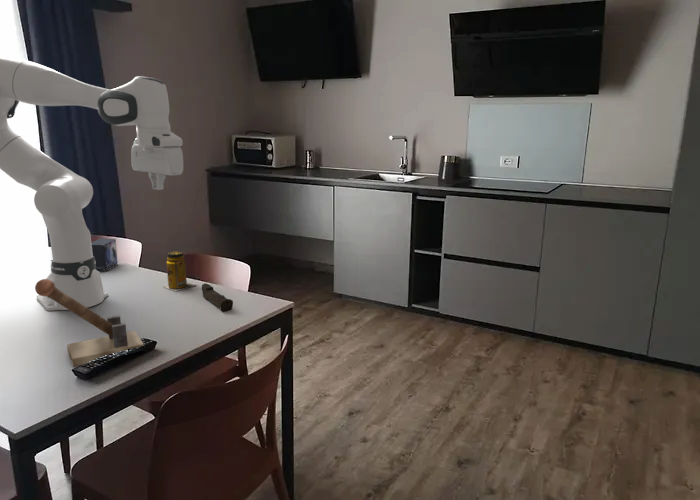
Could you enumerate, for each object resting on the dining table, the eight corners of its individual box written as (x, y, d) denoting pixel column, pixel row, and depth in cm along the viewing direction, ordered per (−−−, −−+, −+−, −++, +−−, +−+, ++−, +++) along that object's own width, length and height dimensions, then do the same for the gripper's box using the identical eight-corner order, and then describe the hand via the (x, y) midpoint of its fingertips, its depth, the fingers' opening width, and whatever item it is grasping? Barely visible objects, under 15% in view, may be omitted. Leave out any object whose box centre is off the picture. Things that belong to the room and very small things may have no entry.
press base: (135, 337, 146) (132, 311, 144) (144, 351, 138) (141, 323, 136) (67, 351, 138) (64, 323, 136) (73, 366, 130) (69, 337, 128)
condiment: (163, 287, 188) (160, 253, 185) (184, 281, 195) (182, 248, 192) (175, 291, 184) (172, 256, 181) (197, 285, 190) (194, 252, 187)
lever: (125, 327, 141) (42, 273, 128) (128, 332, 138) (44, 278, 125) (114, 340, 140) (30, 287, 127) (117, 345, 137) (31, 292, 124)
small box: (107, 272, 206) (104, 244, 203) (89, 271, 206) (86, 244, 203) (119, 264, 216) (116, 238, 213) (102, 264, 216) (99, 238, 213)
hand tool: (234, 311, 167) (233, 296, 166) (221, 313, 165) (220, 298, 164) (211, 294, 182) (210, 280, 181) (199, 296, 180) (198, 282, 179)
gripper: (123, 137, 155) (127, 186, 158) (165, 140, 142) (168, 194, 146) (143, 137, 160) (147, 184, 163) (186, 139, 147) (189, 191, 151)
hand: (158, 189), depth 154 cm, fingers closed
